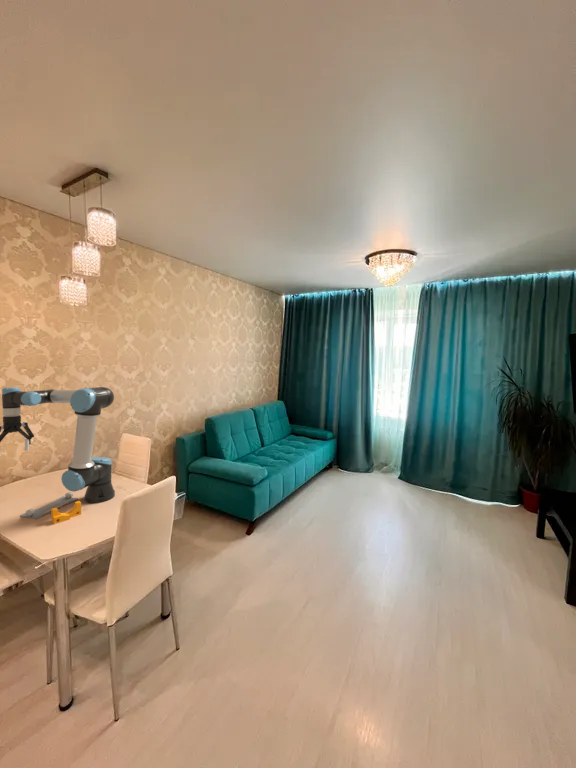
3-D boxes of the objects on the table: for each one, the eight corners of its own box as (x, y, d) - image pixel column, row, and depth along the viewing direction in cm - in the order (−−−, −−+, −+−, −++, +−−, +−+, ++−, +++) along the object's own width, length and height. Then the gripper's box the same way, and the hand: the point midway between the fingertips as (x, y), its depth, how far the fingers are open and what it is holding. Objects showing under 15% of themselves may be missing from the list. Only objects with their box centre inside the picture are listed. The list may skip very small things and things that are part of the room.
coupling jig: (77, 499, 181) (77, 492, 181) (36, 519, 158) (36, 511, 157) (63, 497, 183) (63, 490, 183) (20, 516, 160) (20, 509, 159)
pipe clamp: (54, 524, 153) (54, 511, 153) (51, 521, 156) (51, 508, 156) (82, 515, 163) (82, 503, 162) (79, 513, 166) (79, 500, 165)
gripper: (32, 412, 189) (33, 447, 190) (-21, 418, 166) (-20, 458, 167) (41, 412, 186) (42, 449, 187) (-13, 419, 163) (-11, 460, 164)
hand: (13, 453), depth 177 cm, fingers open, 13 cm apart
